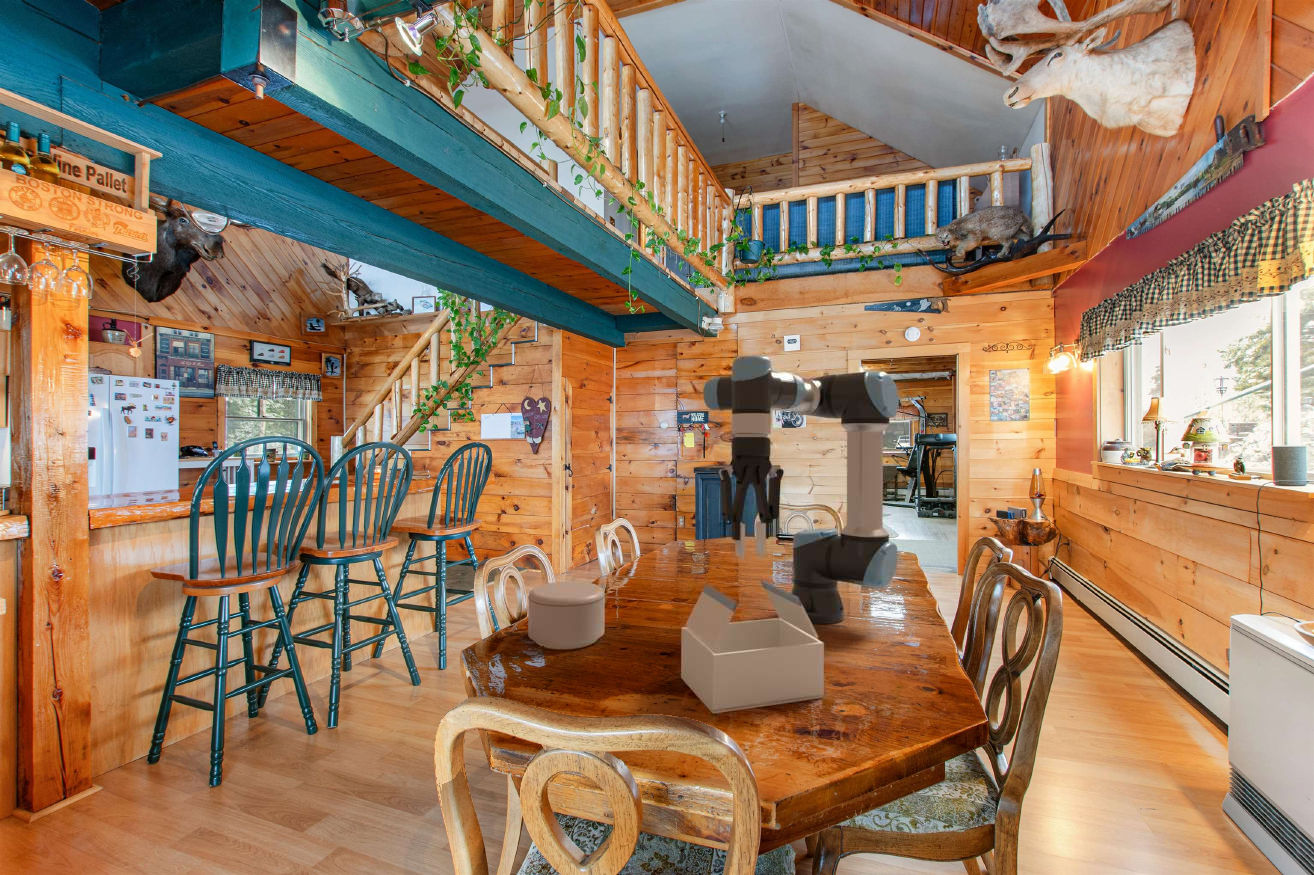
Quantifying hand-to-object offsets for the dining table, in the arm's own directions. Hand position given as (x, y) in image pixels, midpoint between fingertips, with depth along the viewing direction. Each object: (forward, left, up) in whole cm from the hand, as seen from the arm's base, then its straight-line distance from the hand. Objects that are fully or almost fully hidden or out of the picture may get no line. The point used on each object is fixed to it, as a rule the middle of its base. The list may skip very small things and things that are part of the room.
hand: (750, 556), depth 115 cm
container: (+30, -36, -25) cm, 53 cm away
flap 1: (+9, +2, -10) cm, 14 cm away
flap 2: (-7, +2, -10) cm, 13 cm away
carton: (+1, +2, -25) cm, 25 cm away
